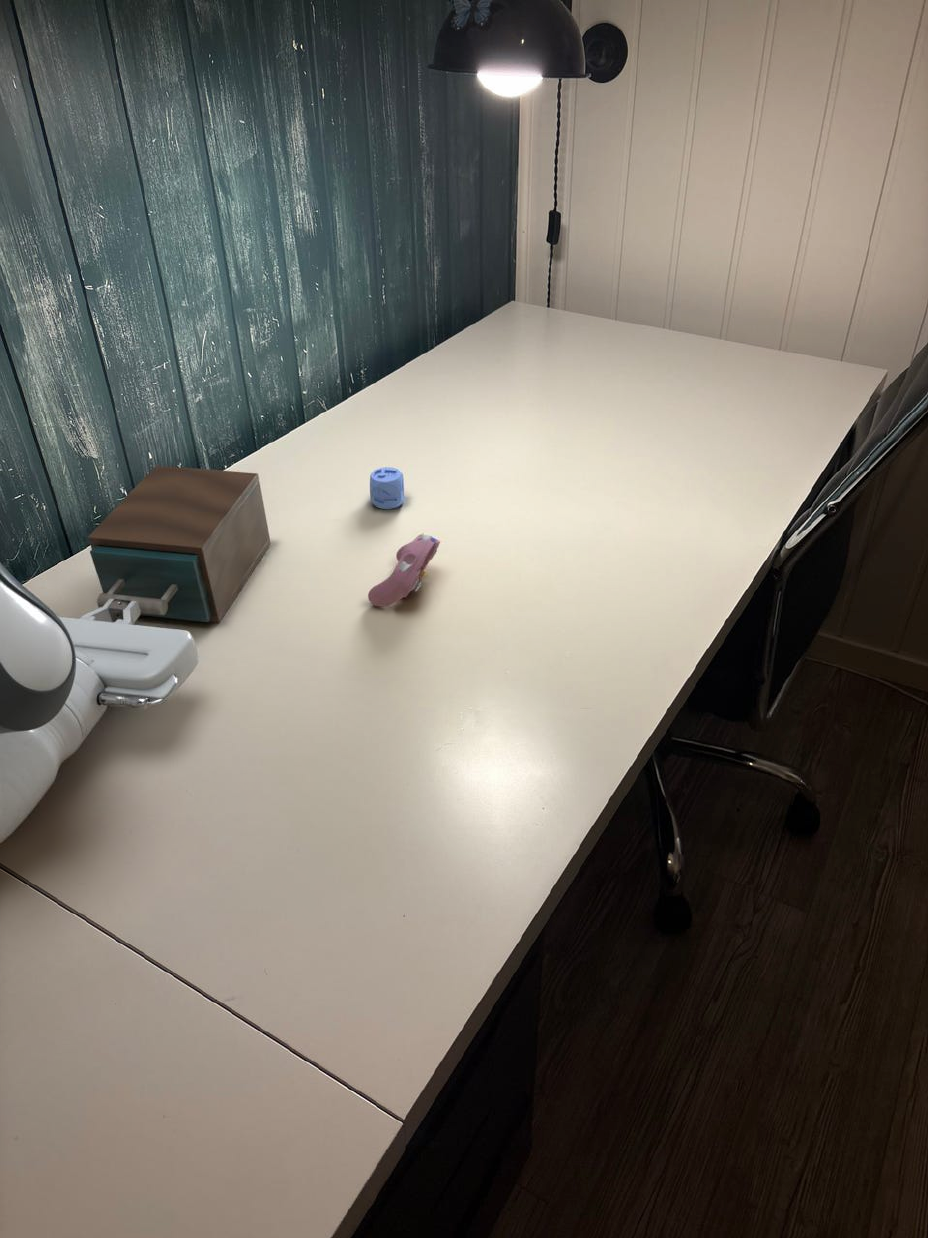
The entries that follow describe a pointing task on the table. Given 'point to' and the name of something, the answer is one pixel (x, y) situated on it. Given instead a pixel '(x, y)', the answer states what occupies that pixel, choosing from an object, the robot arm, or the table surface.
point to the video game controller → (405, 571)
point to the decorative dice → (387, 488)
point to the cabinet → (195, 525)
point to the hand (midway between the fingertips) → (126, 604)
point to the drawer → (153, 581)
